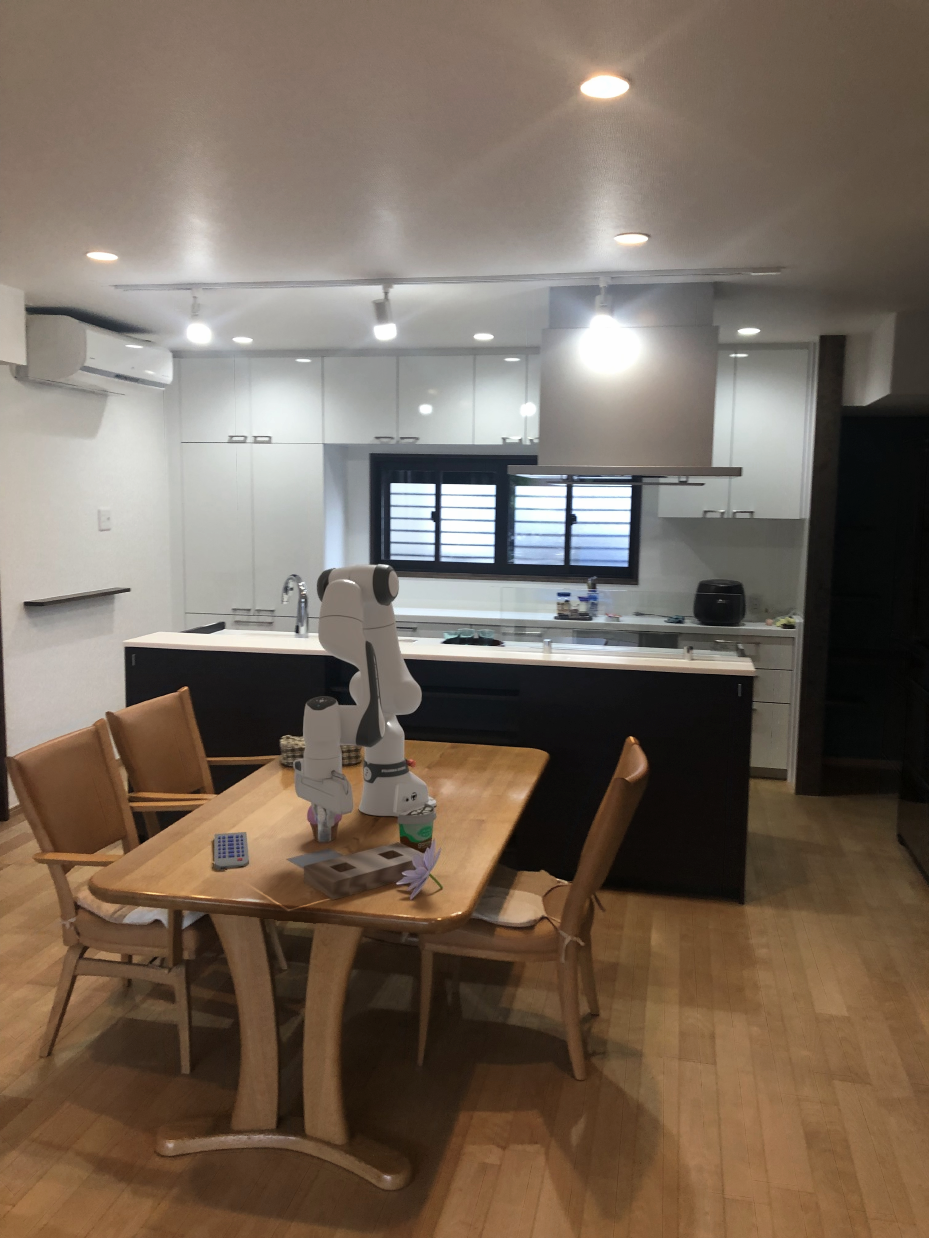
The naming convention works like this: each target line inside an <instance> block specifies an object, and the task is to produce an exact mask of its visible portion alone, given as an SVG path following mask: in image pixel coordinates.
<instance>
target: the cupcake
mask: <svg viewBox="0 0 929 1238" xmlns="http://www.w3.org/2000/svg"><path fill="white" fill-rule="evenodd" d="M306 813H307V814H306V820H307V822H308V823H309V824H310V827H311V830H312V836H313V839H314V840H315V841H318V822H317V821H315V816H314V812H313V809H312V807H311V805H310V806H309V808H308V809H307V812H306ZM342 818H343V815H339V814H336V816H335V819H334V826H331V841H333V840H334V839H336V838H337V836H338V831H339V829H338V828H339V823H340V822H341V821H342ZM318 842H319V841H318Z"/></svg>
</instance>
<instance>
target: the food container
mask: <svg viewBox="0 0 929 1238" xmlns="http://www.w3.org/2000/svg"><path fill="white" fill-rule="evenodd" d="M437 817H438V816H437V813H436V809H435V806H432V805H430V804H426V803H425V804H424V807H423V808H421V809H418V810H413V811H411V812H410V813H408V814H407V815H400V814H399V816H398V817H397V821H396V822H397V824H398V830H399V832H398V833H399V843H401V844H403V845H406V846H408V847H410V848H412V849H415V850H417V851H419V852H421V853H423V854H425V851H426V849H427V847H428V848H429V849H430V847H431V844H432V842H433V831H434V821H435V820H436V819H437Z"/></svg>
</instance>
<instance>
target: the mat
mask: <svg viewBox="0 0 929 1238" xmlns="http://www.w3.org/2000/svg"><path fill="white" fill-rule="evenodd" d="M341 856H344V855H343V854H341V853H339V852H337V851H335V850H334V849H331V848H325V849H322V850H321V849H320V850H316V851H313V852H309V853H306V854H305V853H304V854H300V855H297V856H292V857H289V858H286V861H289V862H290V863H292V864H294V865H295V866H298V867H299V868H301V869H303V870H304V866H306V865H310V864H314V863H318V862H322V861H326V860H330V859H334V858H337V857H341Z"/></svg>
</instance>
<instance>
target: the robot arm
mask: <svg viewBox="0 0 929 1238" xmlns="http://www.w3.org/2000/svg"><path fill="white" fill-rule="evenodd" d="M399 581H400V580H399V576H398V574H397V571H396V570H395V569H394V567H393V566H391V565H389V564H381V563H378V564H355V565H348V566H343V567H338V568H336V567H332V568H328V569H326V570H323V571H322V572H321V574H320V575H319V576H318V579H317V580H316V594H317V598H318V599H319V601H320V602H321V604H320V611H319V617H318V626H317V627H318V631H317V632H318V633H317V636H318V641H319V643H320V644H319V645H320V646H321V647H322V649H324V650H325V651H326V653H328V654H330V655H331V656H333V657H334V658H337V659H339V660H341V661H344V662H346V663H349V664H351V665H353V666H355V667H356V668H357V669H358V671H357V672H356V673H355V674H354V675H353V676H352V677H351V679H350V681H349V693H350V696H351V699H352V700H353V701H354V702H355V704H356V705H353V704H351V705H350V704H349V705H348V704H347V705H346V704H343V705H342V704H339V702H338V701H337V699H336V698H334V697H332V696H329V695H327V696H326V695H324V696H323V695H322V696H316V697H313V698H310V699H308V700H307V701H306V703H305V706H304V713H303V727H302V733H303V735H302V737H303V738H302V739H303V741H304V747H305V748H304V751H303V758H299V759H296V760H293V761H292V762H293V763H292V768H293V769H294V774H293V776H294V779H293V780H294V791H295V793H296V794H295V795H296V797H297V798H300V799H302V800H305V801H306V802H310V806H311V807H312V809H313V812H314V816H315V821H317V822H318V810H317V805H318V806H320V807H323V808H325V809H326V812H327V813H328V815H327V818H325V825H326V826H328V827H331V826H334V819H335V816H336V814H339V815H342V816H343V815H347V814H351V813H352V812H353V810H354V797H353V789H352V784H351V783H350V780H348V777H347V775H346V774H344V773H343V760H342V759H343V757H342V755H343V753H342V748H341V746H357V747H361V748H362V747H364V759H363V760H362V761H363V762H362V767H363V768H362V774H363V775H362V776H363V777H362V778H363V785H362V793H361V800H360V802H359V806H358V810H359V812H360V813H363V814H366V815H370V816H378V817H397V818H398V816H399V814H400V815H407V814H408V813H410V812H411V811H413V810H418V809H421V808H423V807H424V804H425V803H426V804H430V805H432V806H433V807H436V806H437V804H438V803H437V800H436V799H435V798H433V797H432V796H430V795H429V794H430V793H429V789H428V785H427V784H426V782H425V781H424V780H422V779H421V778H420V777H418V775H415V773H413V772H411V771H410V768H409V767H411V768H412V769H413V768H416V766H417V761H416V760H413V759H411V758H410V759H407V758H405V732H404V730H403V727H402V726H401V725H400V723H399V721H398V718H397V716H399V715H400V716H401V715H409V714H413V713H414V712H415V711H416V710H417V709H418V707H419V706H420V704H421V702H422V698H423V697H422V695H423V694H422V693H423V692H422V688H421V686H420V685H419V684H418V682H417V681H416V680H415V678H414V677H413V676H412V674H411V673H410V671H409V669H408V667H407V664H406V662H405V660H404V657H403V655H402V652H401V647H400V643H399V637H398V629H397V622H396V615H395V610H394V607H393V602H394V601H395V600H396V598H397V596H398V594H399V589H400V583H399Z"/></svg>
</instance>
